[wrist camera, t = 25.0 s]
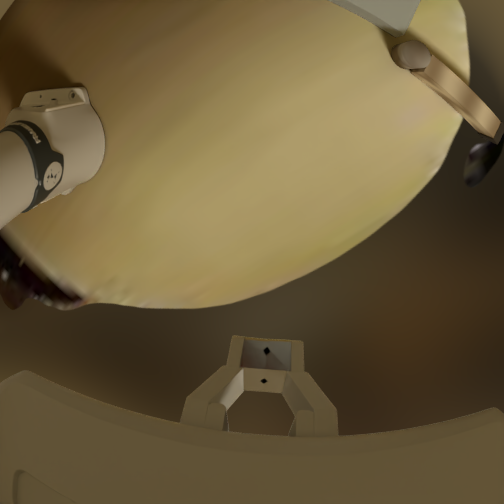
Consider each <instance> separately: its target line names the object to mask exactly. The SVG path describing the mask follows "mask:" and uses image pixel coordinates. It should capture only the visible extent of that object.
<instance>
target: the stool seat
mask: <svg viewBox="0 0 504 504" xmlns="http://www.w3.org/2000/svg"><path fill="white" fill-rule="evenodd" d="M328 1H331V2H333V3H335V4H337V5H339V6H341V7H343V8H345V9H347V10H349V11H351V12H353V13H355V14H357V15H359V16H360V17H362V18H364V19H366V20H368V21H369V22H371V23H373V24H375V25H376V26H378V27H380V28H381V29H383V30H384V31H386V32H388V33H389V34H391V35H392V36H394V37H395V38H396V37H399V36H402V35H404V34H405V32H406V30H407V28H408V26H409V24H410V22H411V20H412V18H413V16H414V13H415V11H416V9H417V7H418V5H419V3H420V1H421V0H328Z"/></svg>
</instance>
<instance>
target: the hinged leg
mask: <svg viewBox="0 0 504 504" xmlns="http://www.w3.org/2000/svg"><path fill="white" fill-rule="evenodd" d="M391 55H392V59H393V61H394V62H395V64H396V65H397V66H399V67H400V68H403V69H412V71H411V73H412V74H413V75H414V76H416V77H417V78H418V79H420V80H421V81H422V82H423V83H425V84H426V85H427V86H429V87H430V88H431V89H432V90H433V91H435V92H436V93H437V94H438V95H439V96H441V97H442V98H443V99H444V100H445V101H446V102H447V103H449V104H450V105H451V106H452V107H453V108H454V109H455V110H456V111H457V112H458V113H460V114H461V115H462V116H463V117H464V118H465V119H466V120H467V121H468V122H469V123H470V124H471V125H472V126H473V127H474V128H475V129H476V130H477V131H478V134H479V135H480V136H481V137H482V138H484V139H486V140H488V141H491V142H493V143H495V144H498V143H499V141H500V139H501V137H502V135H503V132H504V123H503V122H502V121H499V119H498V118H497V117H496V116H495V115H494V114H493V112H492V111H491V110H490V109H489V108H488V107H487V106H486V104H485V103H484V102H483V101H482V100H481V99H480V98H479V97H478V96H477V95H476V94H475V93H474V92H473V91H472V90H471V89H470V88H469V87H468V86H467V85H466V84H465V83H464V82H463V81H462V80H461V79H460V78H459V77H458V76H457V75H456V74H454V73H453V72H452V71H451V70H450V69H449V68H448V67H447V66H445V65H444V64H443V63H442V62H441V61H439V60H438V59H437V58H436V57H435V56H433V55H430V52H429V50H428V48H427V47H426V46H425V45H424V44H423V43H421V42H419V41H416V40H412V41H408V42H405V43H401V44H398V45H396V46H394V47H393V49H392V52H391Z"/></svg>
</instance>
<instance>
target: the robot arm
mask: <svg viewBox="0 0 504 504" xmlns="http://www.w3.org/2000/svg"><path fill="white" fill-rule="evenodd" d="M74 93H75V96H74ZM104 150H105V137H104V131H103V127H102V124H101V121H100V119H99V117H98V115H97V114H96V112H95V111H94V110H93V108H92V107H91V105H90V101H89V97H88V93H87V90H86V89H85V88H84V87H71V88H57V89H47V90H38V91H31V92H28V93H26V94H25V96H24V97H23V99H22V101H21V104H20V107H17V108H14V109H12V110H11V112H10V113H9V115H8V117H7V120H6V123H5V128H3V129H2V130H1V131H0V229H1V228H2V227H3V226H5V225H6V224H7V223H8V222H9V221H11V220H12V219H13V218H15V217H16V216H17V215H18V214H20V213H25V212H27V211H29V210H31V209H33V208H35V207H36V206H37V205H38V204H39V203H43V202H45V201H47V200H49V199H51V198H53V197H55V196H57V195H59V194H63V195H66V194H68V193H70V192H71V191H72V190H73V189H74V188H75V186H76V185H78V184H81V183H84V182H86V181H88V180H89V179H91V178H92V177H93V176H94V175H95V174H96V172H97V171H98V169H99V167H100V165H101V163H102V160H103V156H104ZM243 390H249V391H264V392H274V393H282V395H283V396H284V398H285V400H286V401H287V403H288V405H289V407H290V408H291V410H292V412H293V413H294V415H295V419H294V421H293V424H292V426H291V429H290V431H289V436H272V435H258V434H247V433H237V432H229V426H228V419H227V411H226V410H227V409H228V408H229V407H230V406H231V405H232V403H233V402H234V401H235V400H236V399H237V398H238V397H239V396H240V395H241V393H242V392H243ZM337 423H338V421H337V409H336V408H335V407H334V406H333V404H332V403H331V402H330V401H329V399H328V398H327V397H326V395H325V394H324V393H323V392H322V390H321V389H320V388H319V386H318V385H317V384H316V383H315V381H314V380H313V379H312V378H311V376H310V375H309V374H308V372H304V348H303V341H294V340H278V339H260V338H251V337H241V336H233V337H232V340H231V345H230V350H229V355H228V360H227V365H226V366H222V367H221V368H220V369H219V370H218V371H216V372H215V373H214V374H213V375H212V376H211V377H210V378H209V379H208V380H206V381H205V382H204V383H203V384H202V385H201V386H199V387H198V388H197V389H196V390H195V391H194V392H193V393H191V394H190V395H189V396H188V397H187V399H186V402H185V406H184V410H183V413H182V417H181V420H180V423H176V422H172V421H167V420H163V419H159V418H155V417H151V416H147V415H143V414H139V413H136V412H132V411H129V410H125V409H122V408H119V407H116V406H113V405H110V404H107V403H104V402H101V401H98V400H95V399H92V398H90V397H87V396H84V395H82V394H79V393H77V392H74V391H72V390H69V389H67V388H65V387H62V386H60V385H57V384H56V383H53V382H51V381H49V380H47V379H45V378H42V377H41V376H38V375H36V374H35V373H33V372H30V371H27V370H24V371H21V372H19V373H17V374H15V375H13V376H11V377H9V378H8V379H6V380H4V381H3V382H1V384H0V504H504V414H503V413H502V412H501V411H500V410H498V409H497V408H490V409H487V410H483V411H480V412H477V413H474V414H471V415H467V416H464V417H460V418H456V419H452V420H448V421H444V422H440V423H435V424H431V425H426V426H421V427H415V428H410V429H404V430H397V431H390V432H382V433H373V434H362V435H349V436H338V424H337Z"/></svg>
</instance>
